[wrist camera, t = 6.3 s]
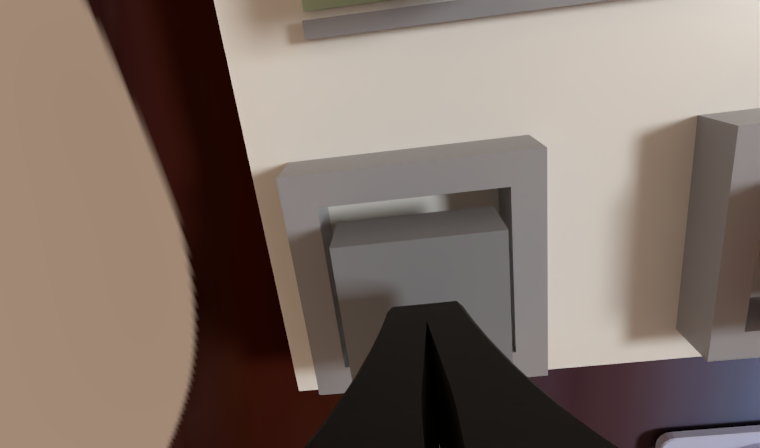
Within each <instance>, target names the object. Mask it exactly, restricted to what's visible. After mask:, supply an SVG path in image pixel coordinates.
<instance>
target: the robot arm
mask: <svg viewBox="0 0 760 448" xmlns="http://www.w3.org/2000/svg"><path fill="white" fill-rule="evenodd" d="M439 444H440V448H618V447H616V446H615V445H613V444H612V443H610V442H609V441H607V440H606V439H604V438H603V437H601V436H600V435H598V434H597V433H596V432H594V431H593V430H591V429H590V428H589V427H587V426H586V425H585V424H583V423H582V422H581V421H579V420H578V419H577V418H575V417H574V416H573V415H571V414H570V413H569V412H568V411H566V410H565V409H564V408H563V407H561V406H560V405H559V404H558V403H556V402H555V401H554V400H553V399H552V398H550V397H549V396H548V395H547V394H546V393H545V392H544V391H542V390H541V389H540V388H539V387H538V386H537V385H536V384H535V383H533V382H532V381H531V380H530V379H529V378H528V377H527V376H526V375H525V374H524V373H523V372H521V371H520V370H519V369H518V368H517V367H516V366H515V365H514V364H513V363H512V362H511V361H510V360H509V359H508V358H507V357H506V356H505V355H504V354H503V353H502V352H501V351H500V350H499V348H498V347H497V346H496V345H495V344H494V343H493V342H492V341H491V340H490V339H489V338H488V337H487V336H486V334H485V333H484V332H483V331H482V330H481V329H480V327H479V326H478V325H477V324H476V323H475V321H474V320H473V319H472V318H471V316H470V315H469V314H468V312H467V311H466V310H465V308H464V307H463V306H462V305H461V304H460V303H459V302H458V301H449V302H439V303H429V304H418V305H408V306H398V307H392V308H391V309H390V310H389V311H388V312H387V314H386V317H385V320H384V323H383V325H382V327H381V330H380V332H379V334H378V336H377V338H376V340H375V342H374V344H373V346H372V348H371V350H370V352H369V354H368V355H367V357H366V359H365V361H364V362H363V364H362V366H361V368H360V370H359V371H358V373H357V375H356V376H355V378H354V380H353V381H352V383H351V384H350V386H349V387H348V389H347V390H346V392H345V393H344V395H343V396H342V398H341V399H340V401H339V402H338V404H337V405H336V407H335V408H334V410H333V411H332V412H331V414H330V415H329V416H328V418H327V419H326V420H325V422H324V423H323V425H322V426H321V427H320V428H319V430H318V431H317V432H316V434H315V435H314V436H313V437H312V438H311V440H310V441H309V442H308V443H307V445H306V446H305V447H304V448H439ZM655 448H760V425H754V426H741V427H728V428H715V429H702V430H689V431H676V432H668V433H664V434H663V435H661V436H660V437H659V438H658V439H657V441H656V445H655Z"/></svg>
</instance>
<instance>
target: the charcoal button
mask: <svg viewBox="0 0 760 448" xmlns="http://www.w3.org/2000/svg"><path fill="white" fill-rule="evenodd" d="M329 250H330V255H331V261H332V267H333V273H334V279H335V285H336V290H337V296H338V302H339V308H340V314H341V320H342V325H343V331H344V337H345V343H346V349H347V355H348V360H349V366H350V372H351V378H352V381H353V380H354V378H355V376H356V375H357V373H358V371H359V370H360V368H361V366H362V364H363V362H364V361H365V359H366V357H367V355H368V354H369V352H370V350H371V348H372V346H373V344H374V342H375V340H376V338H377V336H378V334H379V332H380V330H381V327H382V325H383V323H384V320H385V317H386V314H387V312H388V311H389V310H390V309H391V308H392V307H398V306H408V305H418V304H429V303H439V302H449V301H458V302H459V303H460V304H461V305H462V306H463V307H464V308H465V310H466V311H467V312H468V314H469V315H470V316H471V318H472V319H473V320H474V321H475V323H476V324H477V325H478V326H479V327H480V329H481V330H482V331H483V332H484V333H485V334H486V336H487V337H488V338H489V339H490V340H491V341H492V342H493V343H494V344H495V345H496V346H497V347H498V348H499V350H500V351H501V352H502V353H503V354H504V355H505V356H506V357H507V358H508V359H509V360H510V361H511V362H512V363H513V355H512V325H511V295H510V265H509V234H508V228H507V227H506V225H505V223H504V222H503V220H502V219H501V217H500V215H499V214H498V212H497V210H496V209H495V207H494V206H486V207H476V208H467V209H458V210H449V211H439V212H430V213H421V214H411V215H402V216H393V217H383V218H374V219H365V220H355V221H346V222H337V224H336V227H335V231H334V234H333V237H332V241H331V244H330V248H329Z"/></svg>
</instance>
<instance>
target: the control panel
mask: <svg viewBox="0 0 760 448" xmlns="http://www.w3.org/2000/svg"><path fill="white" fill-rule="evenodd" d="M214 4H215V9H216V14H217V18H218V23H219V27H220V32H221V36H222V41H223V46H224V50H225V55H226V59H227V64H228V68H229V73H230V78H231V82H232V87H233V91H234V96H235V100H236V105H237V110H238V114H239V119H240V123H241V128H242V132H243V137H244V142H245V146H246V151H247V155H248V160H249V164H250V169H251V174H252V178H253V183H254V187H255V192H256V196H257V201H258V206H259V210H260V215H261V219H262V224H263V228H264V233H265V238H266V242H267V247H268V251H269V256H270V260H271V265H272V270H273V274H274V279H275V283H276V288H277V292H278V297H279V302H280V306H281V311H282V315H283V320H284V324H285V329H286V334H287V338H288V343H289V347H290V352H291V356H292V361H293V366H294V370H295V375H296V379H297V384H298V388H299V391H306V390H317V389H318V390H319V395H326V394H337V393H345V392H346V390H347V389H348V387H349V386H350V384H351V383H352V378H351V372H350V366H349V360H348V355H347V349H346V343H345V337H344V331H343V325H342V320H341V314H340V308H339V302H338V296H337V290H336V285H335V279H334V273H333V267H332V261H331V255H330V250H329V248H330V244H331V241H332V237H333V234H334V231H335V227H336V224H337V222H346V221H355V220H365V219H374V218H383V217H393V216H402V215H411V214H421V213H430V212H439V211H449V210H458V209H467V208H476V207H486V206H494V207H495V209H496V210H497V212H498V214H499V215H500V217H501V219H502V220H503V222H504V223H505V225H506V227H507V228H508V234H509V265H510V295H511V325H512V355H513V364H514V365H515V366H516V367H517V368H518V369H519V370H520V371H521V372H523V373H524V374H525V375H526V376H527V377H535V376H547V375H548V369H559V368H571V367H583V366H594V365H606V364H617V363H629V362H640V361H652V360H663V359H675V358H686V357H698V356H703V357H704V358H705V359H706V361H707V362H710V361H721V360H733V359H745V358H756V357H760V0H214Z"/></svg>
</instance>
